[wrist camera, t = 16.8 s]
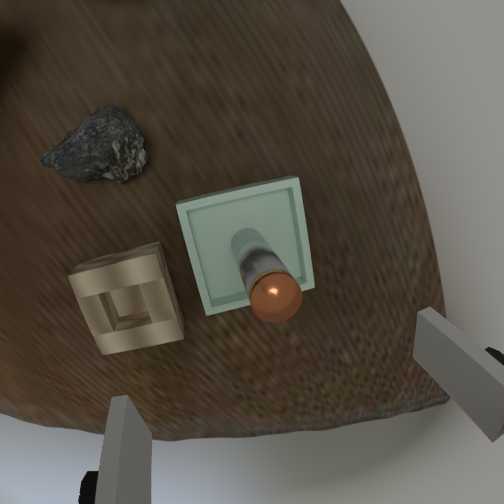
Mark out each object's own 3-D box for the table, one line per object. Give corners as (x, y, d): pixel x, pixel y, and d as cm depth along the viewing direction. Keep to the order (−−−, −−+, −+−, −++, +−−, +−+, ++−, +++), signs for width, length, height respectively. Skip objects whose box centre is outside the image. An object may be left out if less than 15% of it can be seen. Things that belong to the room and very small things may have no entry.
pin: (234, 263, 43) (256, 328, 27) (227, 231, 41) (246, 282, 26) (266, 255, 43) (305, 315, 28) (260, 224, 42) (298, 269, 26)
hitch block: (109, 336, 44) (102, 355, 39) (79, 262, 40) (67, 276, 35) (184, 320, 45) (184, 338, 40) (159, 241, 41) (155, 253, 36)
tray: (205, 305, 45) (206, 315, 42) (177, 201, 40) (175, 204, 37) (307, 279, 46) (314, 287, 43) (291, 175, 41) (298, 177, 38)
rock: (135, 77, 31) (99, 103, 24) (178, 138, 37) (158, 178, 30) (69, 131, 36) (30, 168, 28) (110, 181, 41) (82, 226, 34)
